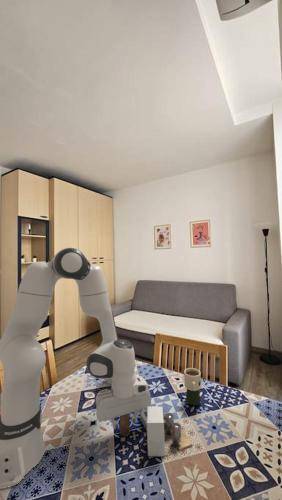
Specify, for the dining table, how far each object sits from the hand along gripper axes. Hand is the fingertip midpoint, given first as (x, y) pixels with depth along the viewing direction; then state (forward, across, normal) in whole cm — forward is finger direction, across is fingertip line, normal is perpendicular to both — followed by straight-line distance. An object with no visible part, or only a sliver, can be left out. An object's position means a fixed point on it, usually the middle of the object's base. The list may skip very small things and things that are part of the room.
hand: (124, 424), depth 78 cm
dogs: (+3, +17, -9) cm, 19 cm away
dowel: (+3, 0, 0) cm, 3 cm away
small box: (+3, +8, -9) cm, 13 cm away
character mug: (+3, +32, +4) cm, 32 cm away
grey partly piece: (+3, +12, 0) cm, 12 cm away
